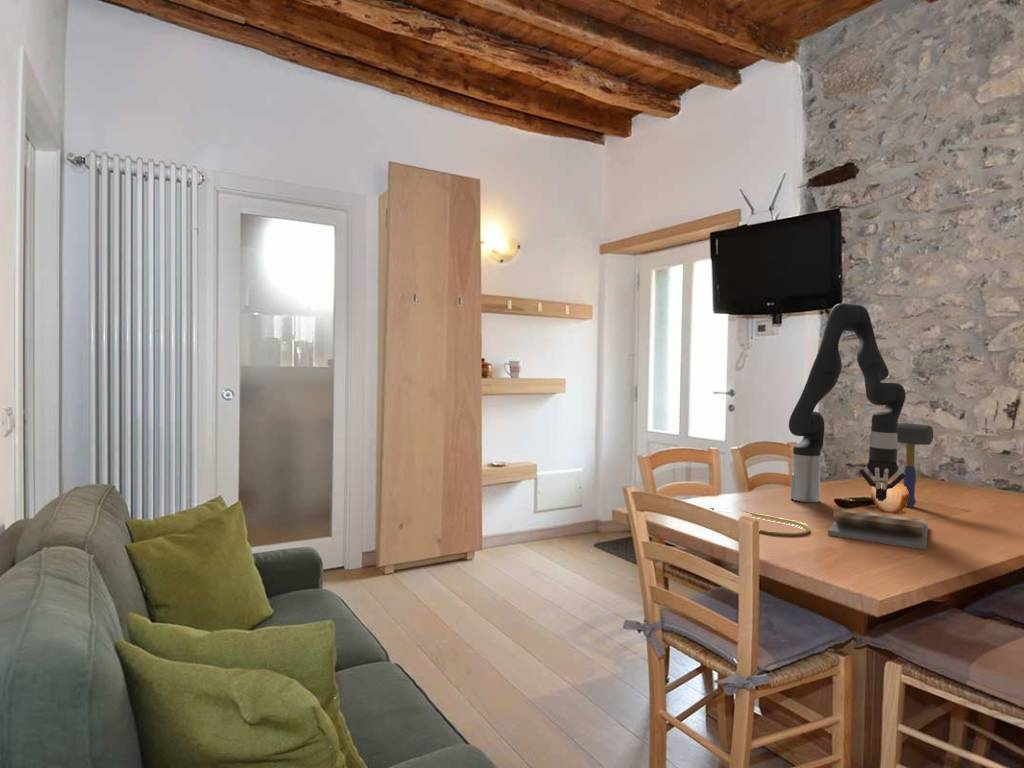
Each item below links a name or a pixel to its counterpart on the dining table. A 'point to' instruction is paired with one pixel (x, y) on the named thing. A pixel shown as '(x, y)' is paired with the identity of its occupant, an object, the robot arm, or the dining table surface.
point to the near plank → (879, 523)
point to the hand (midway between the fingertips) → (880, 500)
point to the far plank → (884, 515)
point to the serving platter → (780, 521)
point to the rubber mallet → (912, 451)
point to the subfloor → (880, 535)
